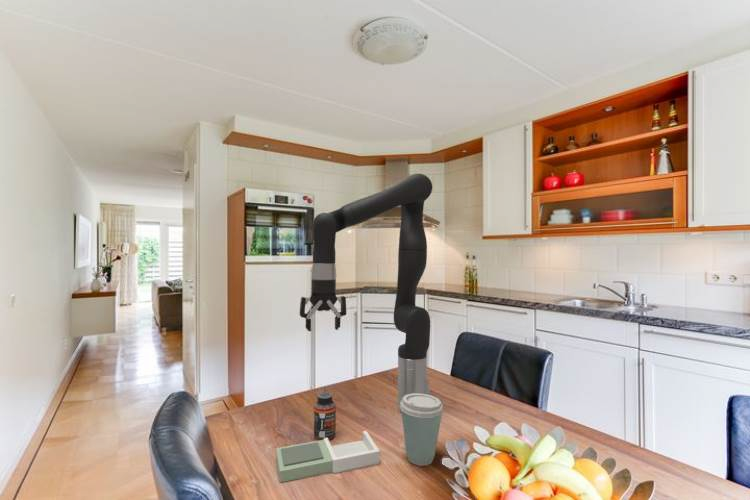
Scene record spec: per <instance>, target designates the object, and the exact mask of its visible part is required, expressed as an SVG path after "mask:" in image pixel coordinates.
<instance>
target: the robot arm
mask: <svg viewBox="0 0 750 500" xmlns="http://www.w3.org/2000/svg"><path fill="white" fill-rule="evenodd" d="M432 191H433V182H432V181H431V179H430V178H429V177H428V176H427V175H425V174H423V173H413V174H411V175H409V176H407V177H406V178H405V179H403V180H402V181H401V182H399V183H397V184H395V185H393V186H391V187H388V188H387V189H384V190H382V191H378V192H376V193H373V194H372V195H368V196H365V197H363V198H360V199H357V200H355V201H354V200H353V201H352V202H350V203H347V204H344V205H343V206H341V207H340V208H338V209H335V210H333V211H330V212H321V213H318V214H317V215H316V216H315V217H314V219H313V222H312V232H313V233H312V234H313V236H312V237H313V238H312V239H313V249H312V267H311V283H310V284H311V287H310V288H311V290H310V296H309V297H306V296H301V297H300V304H299V316H300V318H304V319H305V329H306V330H307V332H311V331H312V319H311V318H312V316H313V315H314V314H315V313H316V312H317V311H318V312H323V311H326V312H329V311H330V310H331V311H332V313H333V314H334V316H335V317H334V330H336V331H338V330H339V328H341V319H342V317H344V316H346V315H347V299H346V298H347V297H346V296H344V295H340V296H337V294H336V292H337V291H336V290H337V269H336V266H337V265H336V238H337V237H336V235H337V233H339V232H341V231H343V230H345V229H347V228H350V227H353V226H356V225H359V224H361V223H364V222H366V221H369V220H372V219H374V218H375V217H378V216H379V215H382V214H383V213H386V212H388V211H390V210H391V209H395V208H397V207H399V206H400V228H399V238H398V252H397V261H398V262H397V269H398V270H397V281H396V286H397V287H396V293H395V294H396V295H395V302H394V310H393V325H394V326H395V328H396V329H397V331H399V332H401V333H404V334H405V339H404V340H405V341H404V342H405V343H403V344H401V345H399V346H398V349H397V391H398V392H397V409H398V411H399V412H400V413H402V412H401V408H400V402H401V401H402V398H403V397H404V396H405V395H407V394H412V393H419V394H427V395H431V394H430V392H431V391H430V388H431V387H430V380H429V379H428V376H427V375H428V350H429V348H430V342H431V341H430V340H431V339H430V338H431V319H430V314H429V312H428V311H427V310H426V309H425V308H423V307H421V306H418V305H416V297H417V295H416V294H417V288H418V285H419V283H420V281H421V279H422V277H423V275H424V273H425V271H426V267H427V259H428V242H427V237H426V232H425V227H424V219H423V218H424V207H425V201H426V200H428V198H429V197H430V196H431V194H432ZM337 301H338V303H339V304H340V311H338V309H337V307H335V304H336V303H337ZM309 302H310V303H311V307H310V308H309V310H308V311H307V312H306V306H307V305H308V304H309Z"/></svg>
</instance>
